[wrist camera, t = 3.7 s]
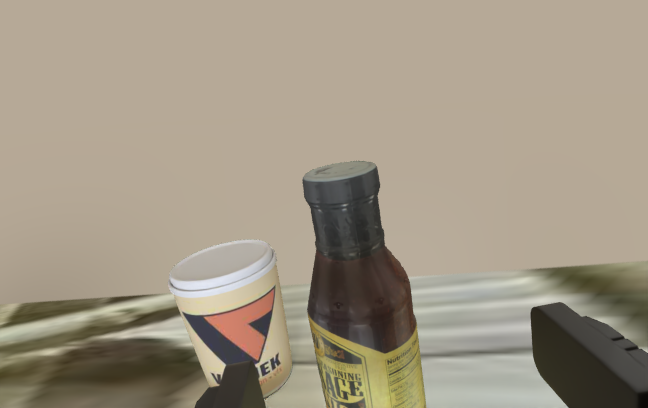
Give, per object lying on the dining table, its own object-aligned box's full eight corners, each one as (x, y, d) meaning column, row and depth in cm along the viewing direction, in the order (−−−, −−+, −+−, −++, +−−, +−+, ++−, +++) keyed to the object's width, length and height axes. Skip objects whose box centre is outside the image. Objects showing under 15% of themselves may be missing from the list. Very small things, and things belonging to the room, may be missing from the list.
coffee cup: (200, 428, 32) (157, 295, 29) (204, 362, 41) (171, 255, 38) (310, 390, 34) (281, 261, 31) (292, 334, 43) (267, 230, 40)
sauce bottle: (325, 446, 28) (263, 175, 24) (399, 408, 30) (357, 152, 26) (369, 529, 22) (298, 190, 18) (458, 476, 24) (417, 158, 20)
